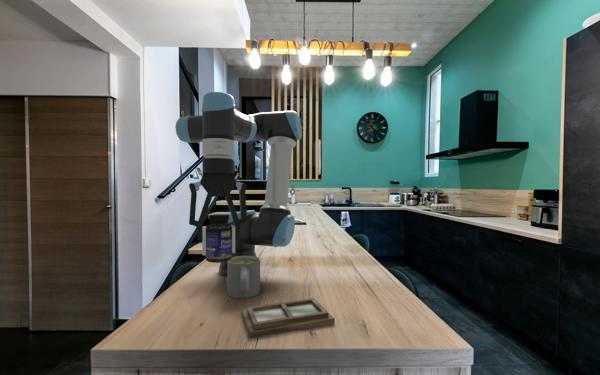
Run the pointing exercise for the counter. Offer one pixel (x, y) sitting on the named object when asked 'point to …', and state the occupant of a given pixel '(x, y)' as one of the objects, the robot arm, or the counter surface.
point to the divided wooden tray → (285, 317)
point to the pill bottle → (218, 239)
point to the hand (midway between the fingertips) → (218, 252)
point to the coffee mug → (243, 276)
